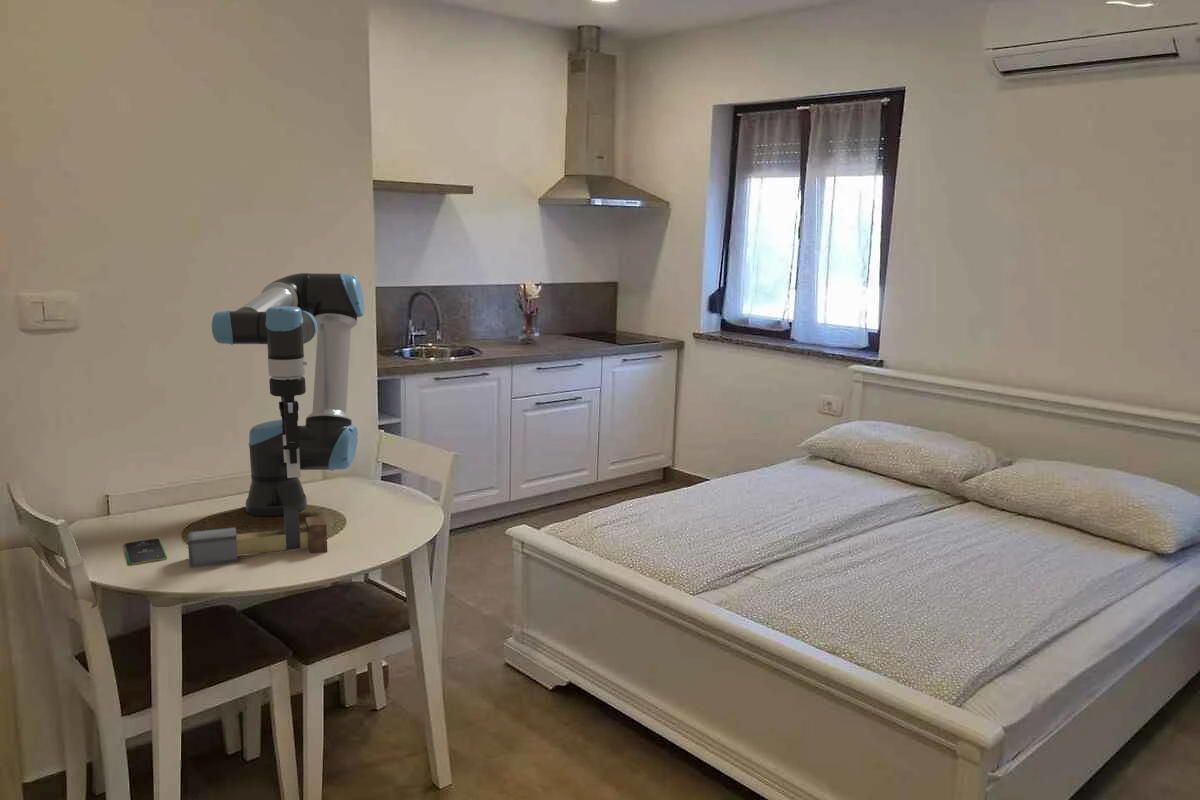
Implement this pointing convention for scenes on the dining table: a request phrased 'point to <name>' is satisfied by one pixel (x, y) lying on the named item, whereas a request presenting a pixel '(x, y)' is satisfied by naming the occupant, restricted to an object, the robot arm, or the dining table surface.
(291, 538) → the tan sliding insert
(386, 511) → the dining table surface
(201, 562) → the outer sleeve
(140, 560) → the black processor chip
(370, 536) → the dining table surface
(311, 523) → the socket block
